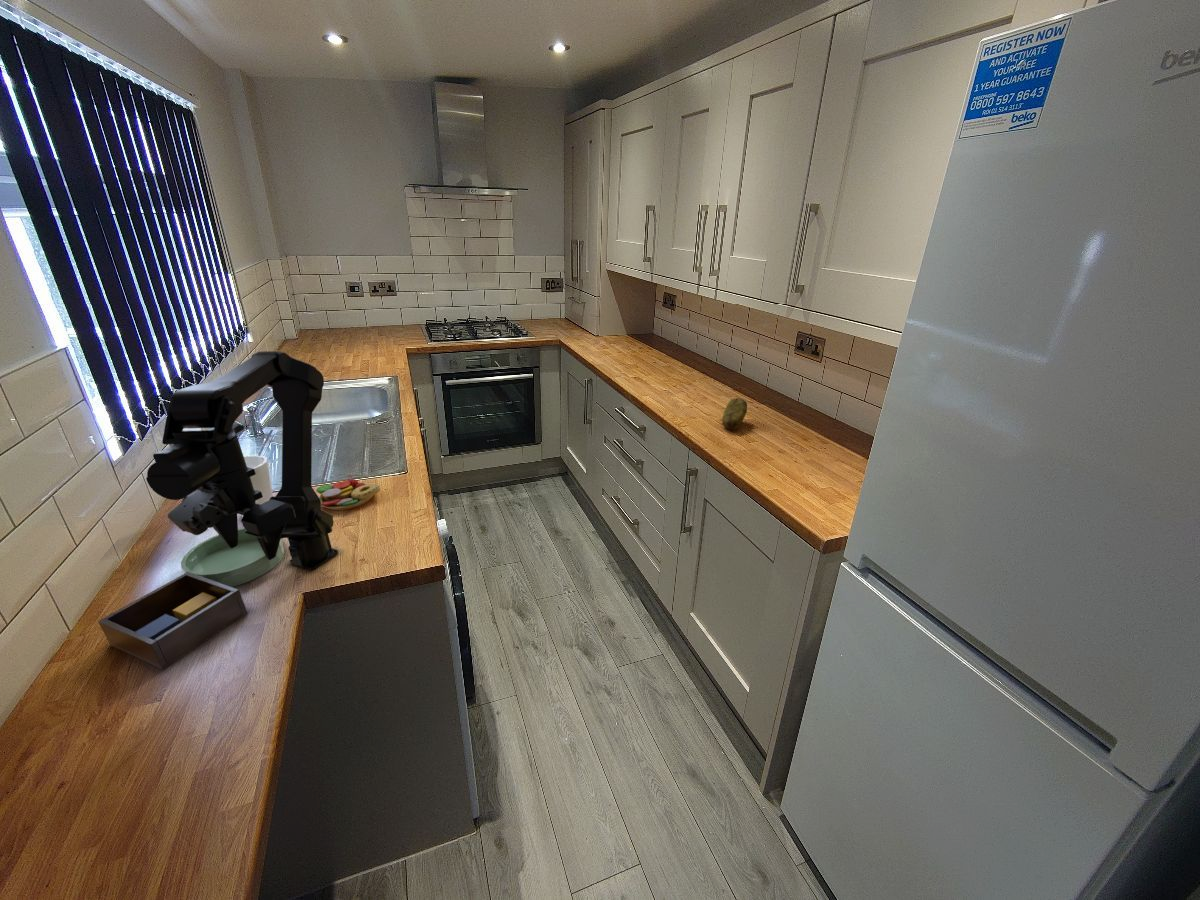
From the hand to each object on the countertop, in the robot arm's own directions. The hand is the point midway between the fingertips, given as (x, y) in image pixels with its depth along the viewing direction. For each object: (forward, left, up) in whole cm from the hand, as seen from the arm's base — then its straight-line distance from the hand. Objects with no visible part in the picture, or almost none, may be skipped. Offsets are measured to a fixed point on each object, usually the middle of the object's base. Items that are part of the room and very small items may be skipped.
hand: (252, 552), depth 87 cm
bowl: (-7, -19, -12) cm, 24 cm away
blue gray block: (+12, -10, -11) cm, 19 cm away
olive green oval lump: (-118, +60, -12) cm, 133 cm away
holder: (+9, -10, -12) cm, 18 cm away
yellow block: (+6, -10, -11) cm, 16 cm away
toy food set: (-35, -19, -12) cm, 42 cm away
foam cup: (-22, -33, -12) cm, 42 cm away
